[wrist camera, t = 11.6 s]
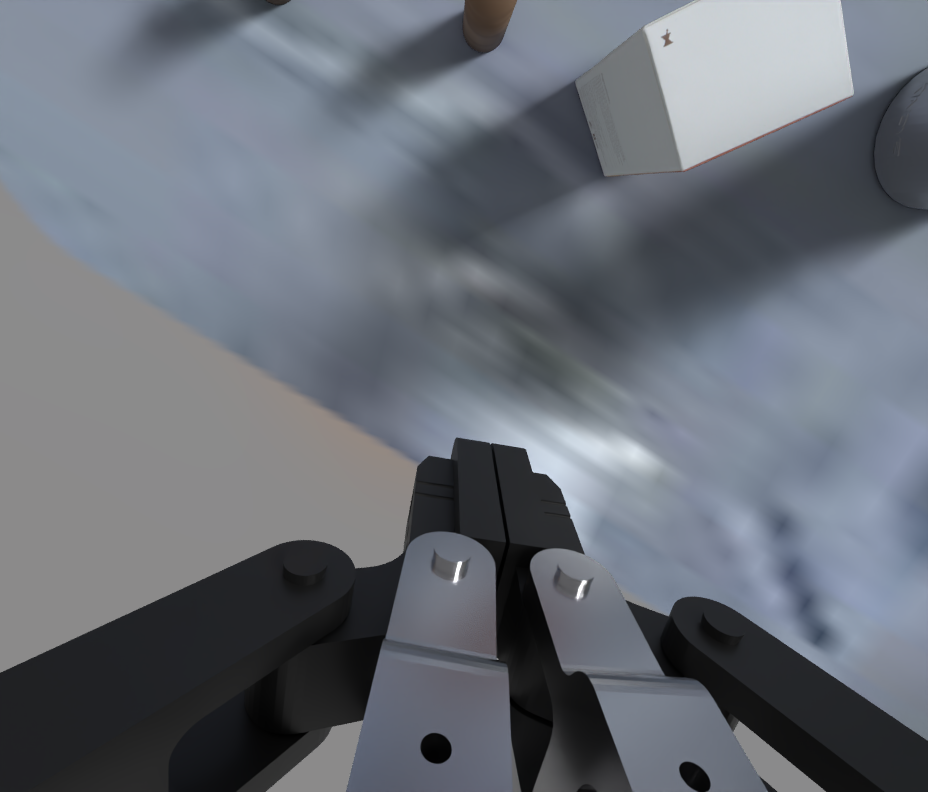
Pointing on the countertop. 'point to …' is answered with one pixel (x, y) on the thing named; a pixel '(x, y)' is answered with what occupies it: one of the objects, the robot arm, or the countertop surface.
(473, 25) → the post
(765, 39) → the small box
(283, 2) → the post
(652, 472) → the countertop surface
